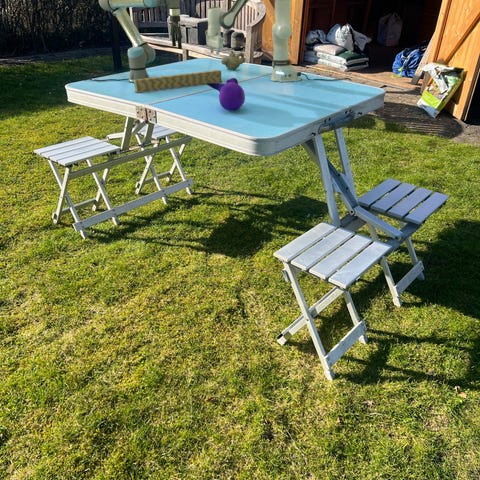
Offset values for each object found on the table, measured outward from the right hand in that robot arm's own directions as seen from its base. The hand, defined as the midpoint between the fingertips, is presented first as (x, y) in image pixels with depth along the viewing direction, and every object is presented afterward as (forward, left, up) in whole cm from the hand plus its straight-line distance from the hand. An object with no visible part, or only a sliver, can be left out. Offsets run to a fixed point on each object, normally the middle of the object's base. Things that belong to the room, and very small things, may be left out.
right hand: (214, 53), depth 321 cm
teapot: (-16, -47, -20) cm, 54 cm away
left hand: (+27, -16, +3) cm, 32 cm away
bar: (+26, +11, -20) cm, 35 cm away
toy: (-3, +78, -20) cm, 81 cm away
